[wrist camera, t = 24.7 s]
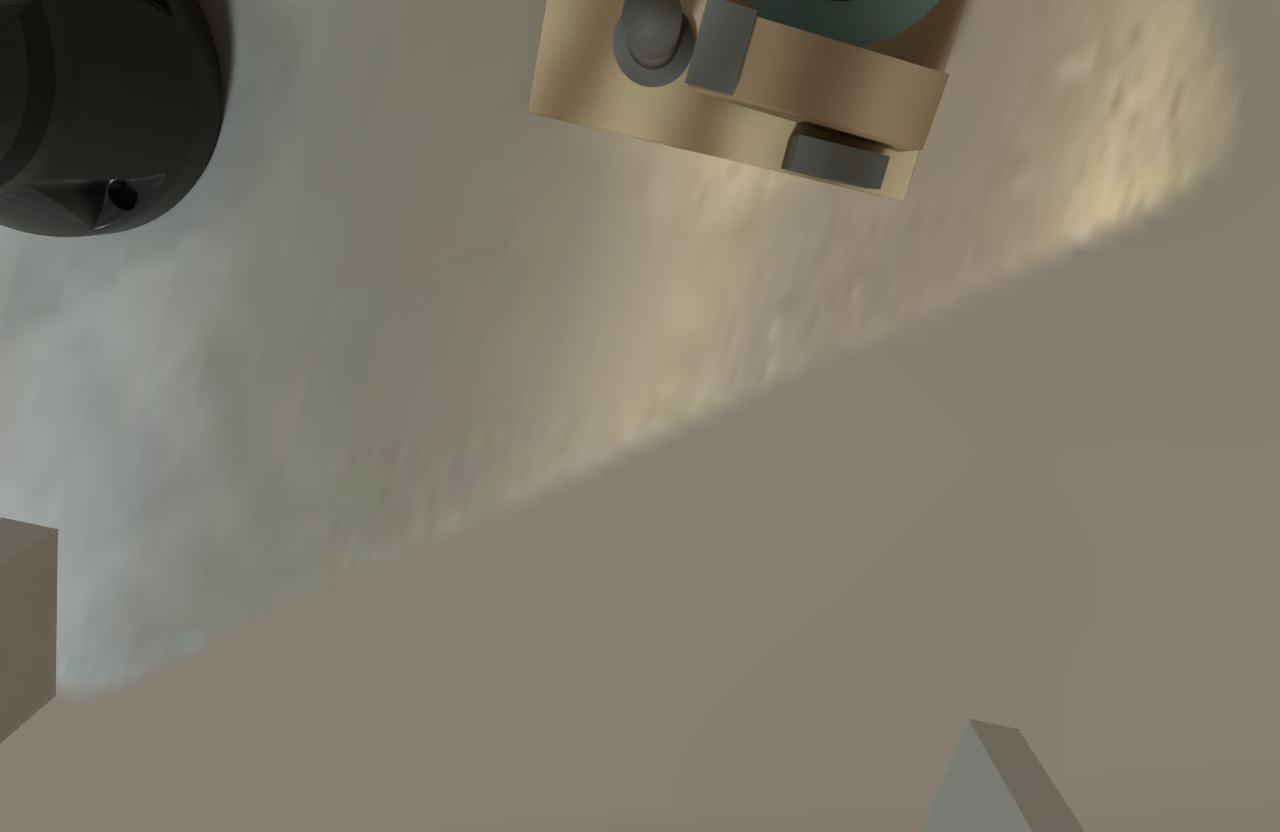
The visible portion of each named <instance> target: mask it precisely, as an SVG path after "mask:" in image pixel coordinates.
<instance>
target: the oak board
mask: <svg viewBox="0 0 1280 832" xmlns="http://www.w3.org/2000/svg"><path fill="white" fill-rule="evenodd" d="M725 1H728V2H732V3H735V4H738V5H742V6H745V7H748V8H752V9H754V8H753V7H752V5H751V4H750V3H749V2H748V1H747V0H725ZM965 1H966V0H939V1H938V2H937V4H936V5H935V6H934V7H933V8H931V9H930V10H929V11H928V12H927V13H926V14H925V15H924V16H923V17H922V18H920V19H919V20H918V21H916V22H915V23H914V24H912V25H911V26H910V27H908V28H906V29H905V30H903V31H901V32H899V33H898V34H896V35H894V36H892V37H890V38H887V39H885V40H882V41H880V42H877V43H874V44H870V45H866V46H862V47H860V48H863V49H867V50H870V51H873V52H877V53H880V54H883V55H887V56H890V57H893V58H897V59H900V60H903V61H907V62H910V63H913V64H917V65H920V66H923V67H927V68H930V69H933V70H937V71H940V72H944V69H945V65H946V62H947V59H948V56H949V52H950V49H951V46H952V43H953V40H954V36H955V33H956V30H957V27H958V23H959V20H960V17H961V14H962V11H963V7H964V4H965ZM706 2H707V0H547V3H546V9H545V15H544V21H543V26H542V32H541V38H540V44H539V50H538V55H537V61H536V67H535V73H534V79H533V84H532V90H531V96H530V102H529V108H528V112H530V113H533V114H538V115H542V116H546V117H550V118H554V119H559V120H563V121H567V122H571V123H576V124H580V125H584V126H588V127H593V128H597V129H601V130H605V131H609V132H614V133H618V134H622V135H626V136H631V137H635V138H639V139H643V140H647V141H652V142H656V143H660V144H664V145H669V146H673V147H677V148H681V149H685V150H690V151H694V152H698V153H702V154H707V155H711V156H715V157H719V158H724V159H728V160H732V161H736V162H740V163H745V164H749V165H753V166H757V167H762V168H766V169H770V170H774V171H778V172H783V173H787V174H791V175H795V176H800V177H804V178H808V179H812V180H816V181H821V182H825V183H829V184H833V185H838V186H842V187H846V188H850V189H855V190H859V191H863V192H867V193H871V194H876V195H880V196H884V197H888V198H893V199H897V200H904V198H905V194H906V191H907V188H908V185H909V182H910V178H911V175H912V172H913V169H914V165H915V162H916V159H917V156H918V153H919V150H916V151H905V152H896V151H893V150H889V149H886V148H882V147H879V146H876V145H872V144H869V143H865V142H862V141H859V140H855V139H852V138H848V137H845V136H841V135H838V134H835V133H831V132H828V131H824V130H821V129H818V128H814V127H811V126H807V125H804V124H801V123H797V122H794V121H790V120H787V119H784V118H780V117H777V116H773V115H770V114H767V113H763V112H760V111H756V110H753V109H749V108H746V107H743V106H739V105H736V104H732V103H729V102H726V101H722V100H719V99H715V98H712V97H709V96H705V95H702V94H698V93H695V92H692V91H688V90H687V89H688V85H689V84H687V83H685V80H686V76H687V72H688V69H689V65H690V61H691V58H692V54H693V50H694V46H695V43H696V39H697V35H698V32H699V28H700V24H701V20H702V17H703V13H704V9H705V6H706ZM756 16H757V17H760V18H763V17H762V16H761V15H759V14H758V13H757V14H756Z"/></svg>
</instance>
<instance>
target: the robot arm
mask: <svg viewBox="0 0 1280 832" xmlns="http://www.w3.org/2000/svg"><path fill="white" fill-rule="evenodd" d="M221 101H222V91H221V76H220V68H219V62H218V57H217V53H216V49H215V44H214V41H213V38H212V35H211V32H210V29H209V26H208V24H207V21H206V18H205V16H204V14H203V12H202V10H201V7H200V5H199V3H198V1H197V0H0V225H2V226H5V227H9V228H12V229H15V230H19V231H22V232H26V233H32V234H37V235H45V236H54V237H82V236H91V235H101V234H109V233H117V232H121V231H126V230H130V229H133V228H136V227H139V226H141V225H144V224H146V223H148V222H150V221H152V220H154V219H156V218H158V217H160V216H161V215H163V214H164V213H166V212H167V211H169V210H170V209H171V208H173V207H174V206H175V205H176V204H177V203H178V202H179V201H181V200H182V199H183V197H184V196H185V195H186V194H187V193H188V192H189V191H190V190H191V188H192V187H193V186H194V185H195V183H196V182H197V180H198V179H199V177H200V176H201V174H202V172H203V170H204V169H205V167H206V165H207V163H208V160H209V158H210V156H211V153H212V150H213V147H214V145H215V141H216V137H217V133H218V129H219V123H220V116H221ZM57 549H58V529H54V528H49V527H44V526H39V525H35V524H30V523H25V522H20V521H15V520H11V519H6V518H0V743H1V742H3V741H4V740H5V739H6V738H7V737H8V736H9V735H11V734H12V733H13V732H14V731H15V730H17V729H18V728H19V727H20V726H21V725H22V724H23V723H25V722H26V721H27V720H28V719H29V718H30V717H31V716H33V715H34V714H35V713H36V712H37V711H38V710H40V709H41V708H42V707H43V706H44V705H45V704H47V703H48V702H49V701H50V700H51V699H52V698H53V697H55V695H56V622H57ZM922 832H1085V831H1084V830H1083V828H1082V827H1081V825H1080V823H1079V822H1078V820H1077V819H1076V817H1075V816H1074V814H1073V813H1072V811H1071V810H1070V808H1069V807H1068V805H1067V804H1066V802H1065V801H1064V799H1063V797H1062V796H1061V794H1060V793H1059V791H1058V790H1057V788H1056V786H1055V785H1054V784H1053V782H1052V780H1051V779H1050V777H1049V776H1048V774H1047V773H1046V771H1045V770H1044V768H1043V767H1042V765H1041V764H1040V762H1039V760H1038V759H1037V757H1036V756H1035V754H1034V753H1033V751H1032V750H1031V748H1030V747H1029V745H1028V743H1027V742H1026V740H1025V739H1024V737H1023V736H1022V734H1021V733H1020V731H1019V730H1018V729H1014V728H1009V727H1005V726H1000V725H995V724H990V723H986V722H981V721H976V720H971V719H968V720H967V723H966V725H965V727H964V730H963V732H962V735H961V737H960V740H959V743H958V745H957V747H956V750H955V752H954V755H953V757H952V759H951V762H950V764H949V767H948V769H947V772H946V774H945V777H944V779H943V782H942V784H941V786H940V789H939V792H938V794H937V796H936V799H935V801H934V804H933V806H932V809H931V811H930V813H929V816H928V819H927V821H926V824H925V826H924V828H923V831H922Z"/></svg>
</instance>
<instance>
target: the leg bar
mask: <svg viewBox="0 0 1280 832" xmlns="http://www.w3.org/2000/svg"><path fill="white" fill-rule="evenodd" d="M756 14H757V10H755V9H752V8H748V7H745V6H742V5H738V4H735V3H732V2H728V1H725V0H707V2H706V6H705V9H704V13H703V17H702V20H701V24H700V28H699V32H698V35H697V39H696V43H695V46H694V50H693V54H692V58H691V61H690V65H689V69H688V72H687V76H686V80H685V83H687V84H689V85H688V89H687V90H688V91H692V92H695V93H698V94H702V95H705V96H709V97H712V98H715V99H719V100H722V101H726V102H729V103H732V104H736V105H739V106H743V107H746V108H749V109H753V110H756V111H760V112H763V113H767V114H770V115H773V116H777V117H780V118H784V119H787V120H790V121H794V122H797V123H801V124H804V125H807V126H811V127H814V128H818V129H821V130H824V131H828V132H831V133H835V134H838V135H841V136H845V137H848V138H852V139H855V140H859V141H862V142H865V143H869V144H872V145H876V146H879V147H882V148H886V149H889V150H893V151H896V152H905V151H916V150H922V149H923V147H924V144H925V141H926V138H927V135H928V133H929V130H930V127H931V124H932V121H933V119H934V116H935V113H936V110H937V108H938V105H939V102H940V99H941V96H942V94H943V91H944V88H945V85H946V82H947V80H948V77H949V74H947V73H943V72H940V71H937V70H933V69H930V68H927V67H923V66H920V65H917V64H913V63H910V62H907V61H903V60H900V59H897V58H893V57H890V56H887V55H883V54H880V53H877V52H873V51H870V50H867V49H863V48H860V47H857V46H853V45H850V44H847V43H843V42H840V41H837V40H833V39H830V38H827V37H823V36H820V35H817V34H813V33H810V32H807V31H804V30H800V29H797V28H794V27H790V26H787V25H784V24H780V23H777V22H774V21H770V20H767V19H764V18H760V17H757V16H756Z"/></svg>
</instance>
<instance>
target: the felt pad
mask: <svg viewBox="0 0 1280 832" xmlns="http://www.w3.org/2000/svg"><path fill="white" fill-rule="evenodd" d="M747 1H748V2H749V3H750V4H751V5H752V7H753V8H754V9H755V10H757V13H758V14H759V15H761V16H762V17H763V18H764V19H767V20H770V21H774V22H777V23H780V24H784V25H787V26H790V27H794V28H797V29H800V30H804V31H807V32H810V33H813V34H817V35H820V36H823V37H827V38H830V39H833V40H837V41H840V42H843V43H847V44H850V45H853V46H857V47H862V46H866V45H870V44H874V43H877V42H880V41H882V40H885V39H887V38H890V37H892V36H894V35H896V34H898V33H899V32H901V31H903V30H905V29H906V28H908V27H910V26H911V25H912V24H914V23H915V22H916V21H918V20H919V19H920V18H922V17H923V16H924V15H925V14H926V13H927V12H928V11H929V10H930V9H931V8H933V7H934V6H935V5H936V4H937V2H938V1H939V0H851V1H833V0H747Z"/></svg>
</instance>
